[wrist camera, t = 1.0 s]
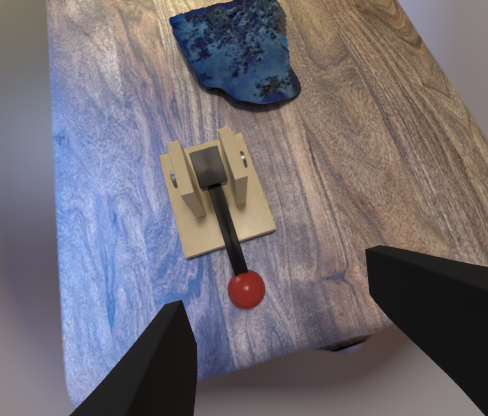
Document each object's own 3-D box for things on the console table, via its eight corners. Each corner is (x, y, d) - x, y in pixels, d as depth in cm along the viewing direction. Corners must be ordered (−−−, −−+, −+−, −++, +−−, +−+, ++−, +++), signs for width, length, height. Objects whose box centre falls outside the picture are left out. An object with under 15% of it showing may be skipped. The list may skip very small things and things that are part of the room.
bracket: (275, 230, 24) (290, 210, 16) (187, 259, 23) (162, 250, 16) (241, 138, 27) (241, 85, 19) (162, 160, 26) (130, 113, 18)
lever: (266, 294, 21) (273, 307, 18) (233, 306, 21) (235, 321, 18) (222, 152, 21) (222, 142, 18) (188, 162, 21) (182, 153, 18)
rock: (277, -1, 33) (279, -18, 31) (310, 103, 28) (315, 91, 26) (170, 15, 32) (165, -1, 30) (187, 125, 28) (183, 114, 26)
